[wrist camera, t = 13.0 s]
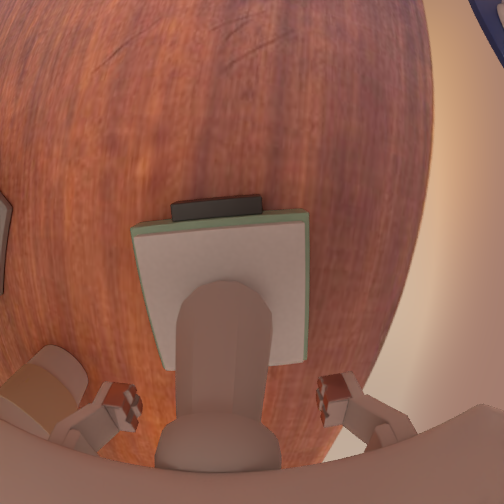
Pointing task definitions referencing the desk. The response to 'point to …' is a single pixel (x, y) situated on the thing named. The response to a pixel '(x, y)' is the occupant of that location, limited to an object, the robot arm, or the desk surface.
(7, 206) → the toy computer monitor
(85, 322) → the desk surface
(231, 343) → the salt shaker
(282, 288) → the scale
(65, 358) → the coffee cup
